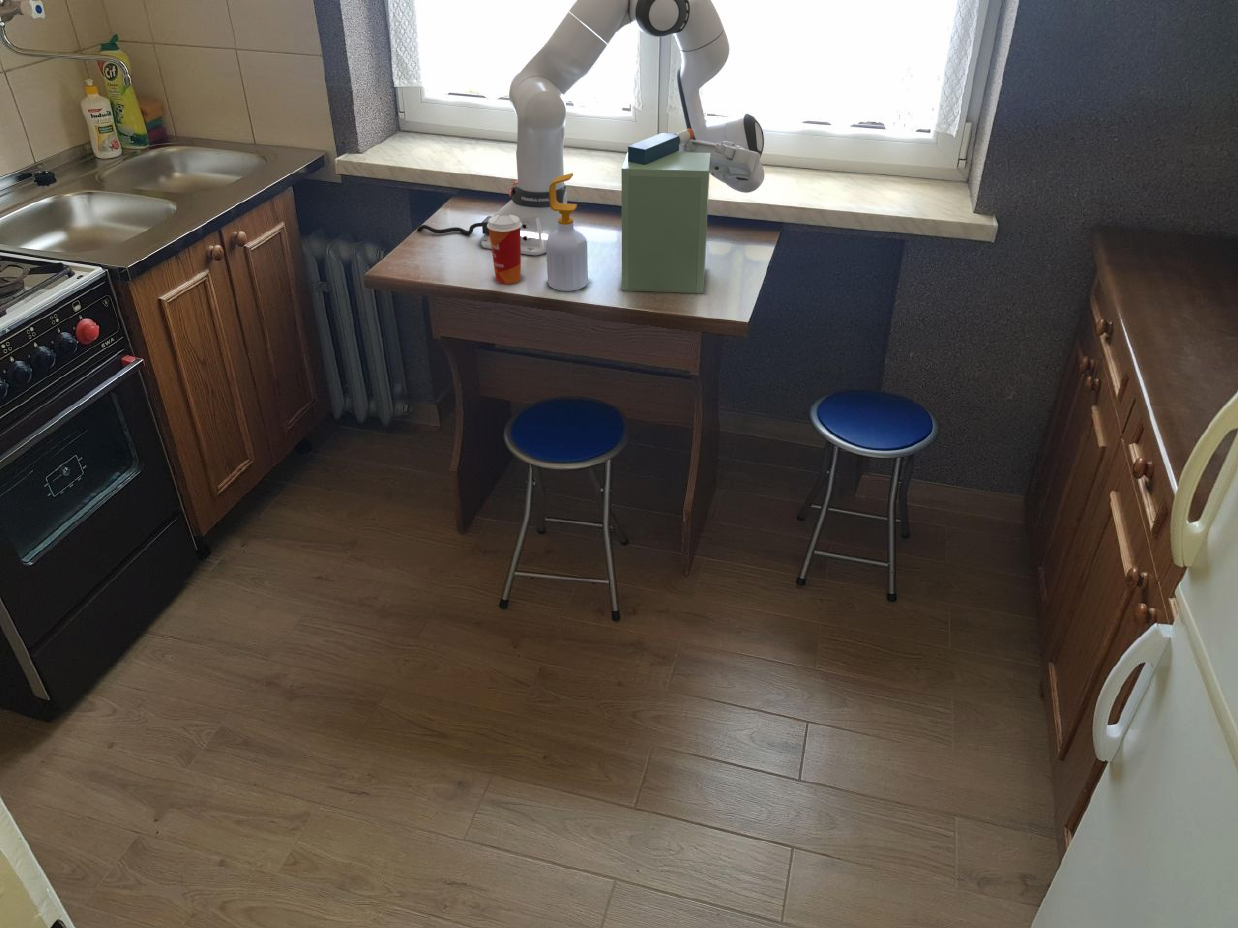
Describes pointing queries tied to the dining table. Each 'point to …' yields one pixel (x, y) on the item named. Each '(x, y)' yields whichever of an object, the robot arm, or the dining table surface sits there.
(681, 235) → the stand
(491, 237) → the paper cup
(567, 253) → the soap bottle
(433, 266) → the dining table surface
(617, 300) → the dining table surface
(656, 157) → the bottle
